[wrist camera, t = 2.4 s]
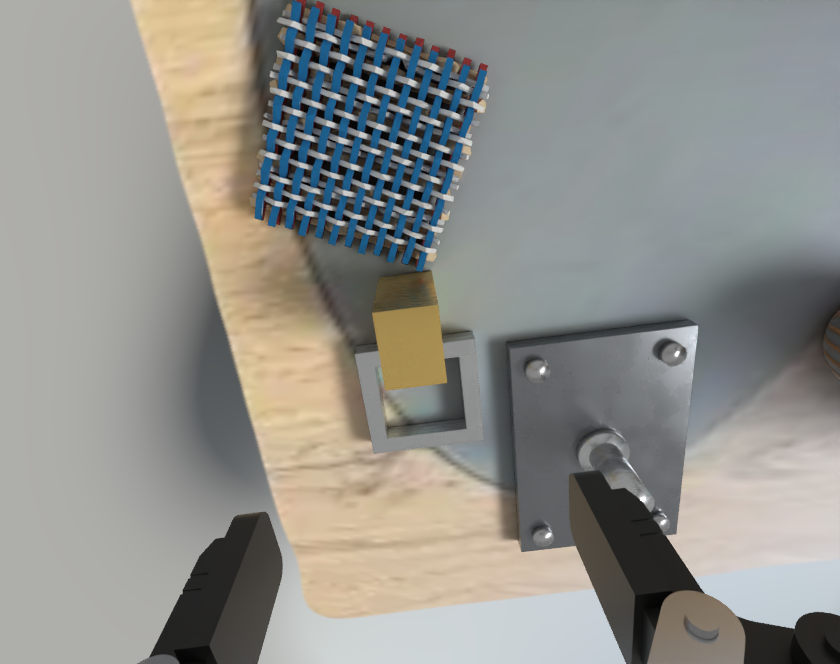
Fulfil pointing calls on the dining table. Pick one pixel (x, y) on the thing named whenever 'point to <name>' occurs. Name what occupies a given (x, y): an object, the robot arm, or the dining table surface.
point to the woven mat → (364, 133)
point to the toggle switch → (599, 421)
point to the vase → (833, 345)
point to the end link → (415, 364)
